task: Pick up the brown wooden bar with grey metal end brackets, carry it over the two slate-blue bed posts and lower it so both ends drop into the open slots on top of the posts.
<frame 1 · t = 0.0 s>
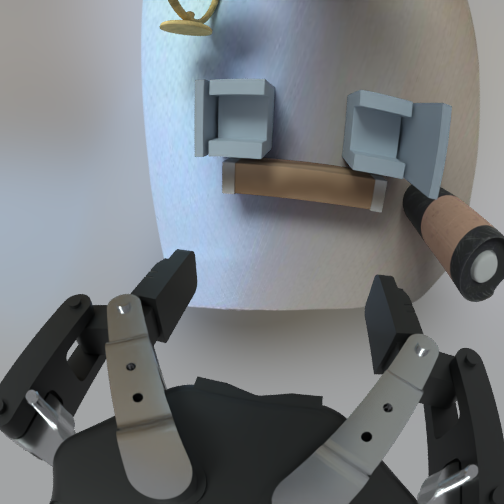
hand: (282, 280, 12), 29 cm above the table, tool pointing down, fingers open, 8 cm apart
bed posts: (309, 120, 34), on the table
brown wooden bar: (304, 175, 38), on the table
travel mug: (422, 201, 36), on the table
wall sconce: (216, 4, 27), on the table
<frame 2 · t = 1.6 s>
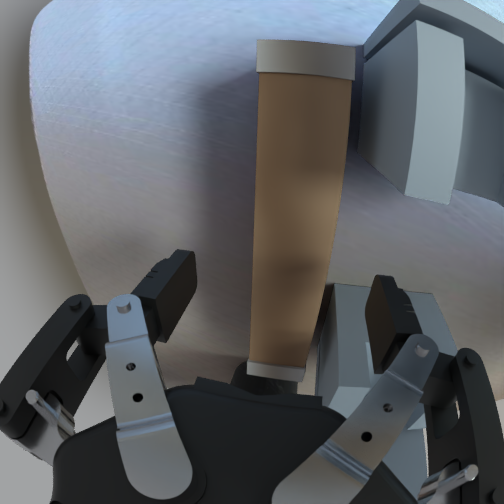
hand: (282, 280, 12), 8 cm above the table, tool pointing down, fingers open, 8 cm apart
bed posts: (404, 232, 17), on the table
brown wooden bar: (297, 217, 19), on the table
travel mug: (266, 377, 28), on the table
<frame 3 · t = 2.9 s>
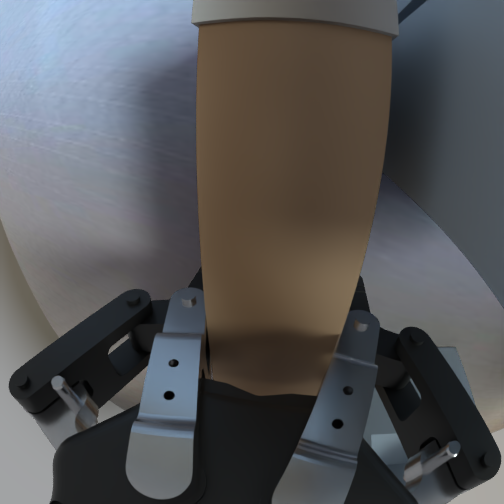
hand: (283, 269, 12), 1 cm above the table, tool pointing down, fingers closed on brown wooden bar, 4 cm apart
bed posts: (434, 281, 12), on the table
brown wooden bar: (285, 263, 13), on the table, touching gripper
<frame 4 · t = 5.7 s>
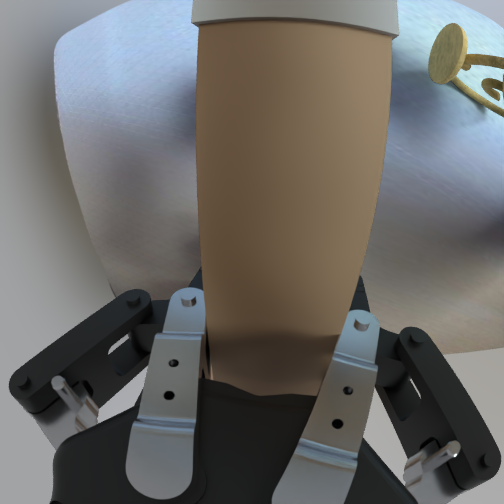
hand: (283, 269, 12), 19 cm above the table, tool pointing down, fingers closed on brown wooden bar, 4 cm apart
brown wooden bar: (285, 263, 13), point 18 cm above the table, touching gripper
wall sconce: (464, 91, 19), on the table
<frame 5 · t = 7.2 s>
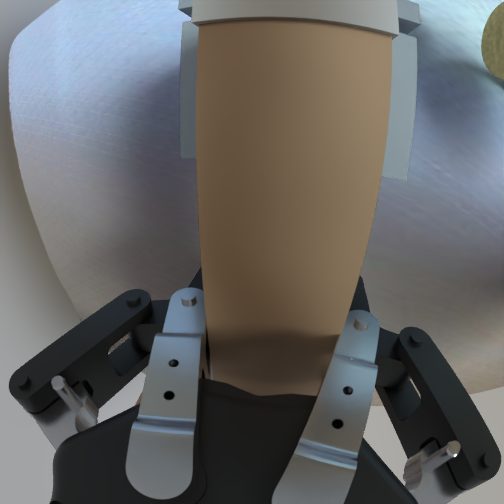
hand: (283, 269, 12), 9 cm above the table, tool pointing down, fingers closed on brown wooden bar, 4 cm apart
bed posts: (294, 206, 20), on the table
brown wooden bar: (285, 263, 13), point 9 cm above the table, touching gripper
when the fingers open (8 cm above the table, at t = 8.3 s): brown wooden bar drops 1 cm, resting on bed posts.
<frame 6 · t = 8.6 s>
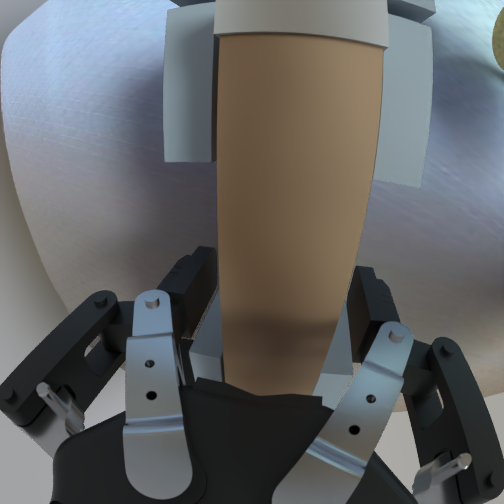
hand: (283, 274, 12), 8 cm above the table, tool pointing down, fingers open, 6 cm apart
bed posts: (293, 210, 19), on the table
brown wooden bar: (289, 251, 14), point 6 cm above the table, touching bed posts
travel mug: (196, 358, 30), on the table
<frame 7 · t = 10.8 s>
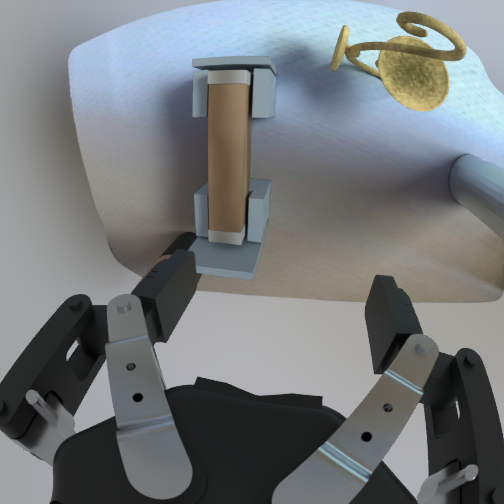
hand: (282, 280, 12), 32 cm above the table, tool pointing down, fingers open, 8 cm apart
bed posts: (243, 146, 39), on the table
brown wooden bar: (235, 152, 34), point 6 cm above the table, touching bed posts
travel mug: (193, 248, 50), on the table
wall sconce: (375, 73, 30), on the table
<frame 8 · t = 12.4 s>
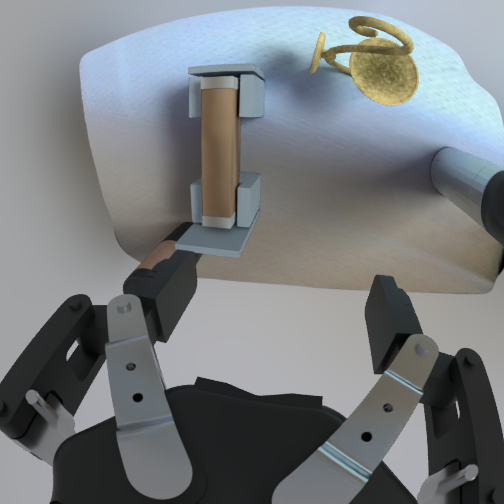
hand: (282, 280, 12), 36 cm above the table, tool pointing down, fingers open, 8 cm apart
bed posts: (236, 144, 44), on the table
brown wooden bar: (227, 148, 39), point 6 cm above the table, touching bed posts
travel mug: (192, 237, 55), on the table
wall sconce: (355, 75, 34), on the table
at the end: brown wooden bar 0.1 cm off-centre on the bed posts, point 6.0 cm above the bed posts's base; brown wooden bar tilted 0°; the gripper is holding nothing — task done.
